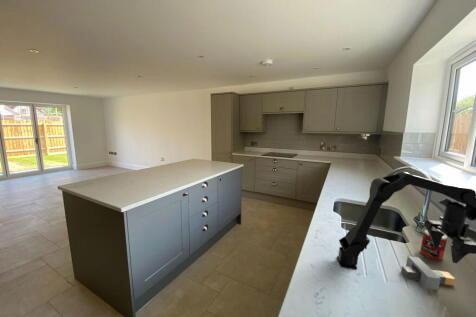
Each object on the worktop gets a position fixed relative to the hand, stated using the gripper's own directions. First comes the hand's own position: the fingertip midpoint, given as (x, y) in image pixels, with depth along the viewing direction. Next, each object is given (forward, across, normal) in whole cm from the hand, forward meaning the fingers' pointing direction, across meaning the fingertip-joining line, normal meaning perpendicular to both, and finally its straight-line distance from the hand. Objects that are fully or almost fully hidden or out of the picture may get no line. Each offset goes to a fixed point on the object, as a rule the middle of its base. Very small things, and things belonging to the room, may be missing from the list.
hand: (444, 254), depth 78 cm
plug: (+11, -1, +5) cm, 12 cm away
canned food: (+11, +17, -8) cm, 22 cm away
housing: (+11, -1, +7) cm, 13 cm away
